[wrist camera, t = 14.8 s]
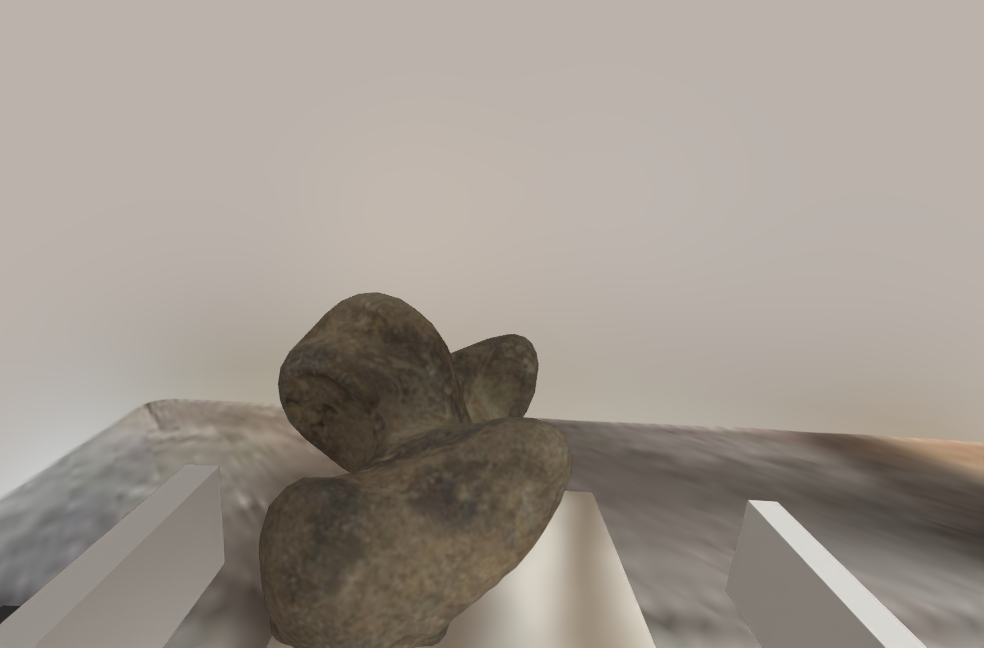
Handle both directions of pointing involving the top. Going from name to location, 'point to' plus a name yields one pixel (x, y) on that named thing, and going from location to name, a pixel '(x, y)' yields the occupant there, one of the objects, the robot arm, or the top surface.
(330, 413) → the decorative stone
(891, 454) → the top surface
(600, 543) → the block
